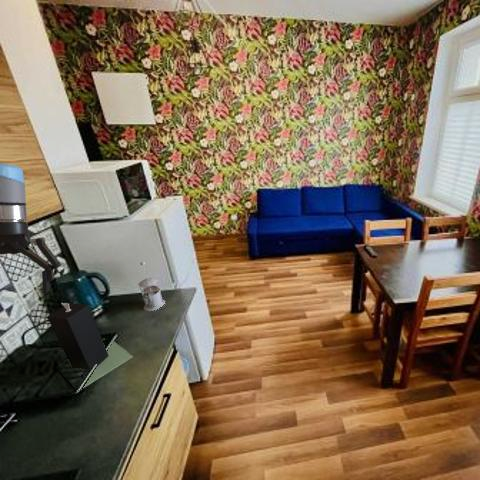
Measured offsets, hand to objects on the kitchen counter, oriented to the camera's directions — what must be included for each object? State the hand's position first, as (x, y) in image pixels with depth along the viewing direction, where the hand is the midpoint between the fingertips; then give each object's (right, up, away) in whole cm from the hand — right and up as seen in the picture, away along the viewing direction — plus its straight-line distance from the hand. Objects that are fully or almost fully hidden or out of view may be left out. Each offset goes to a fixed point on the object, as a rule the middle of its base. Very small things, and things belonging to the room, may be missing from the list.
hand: (13, 294), depth 76 cm
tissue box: (0, -32, +26) cm, 41 cm away
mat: (0, -32, +27) cm, 42 cm away
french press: (+2, -18, +60) cm, 63 cm away
